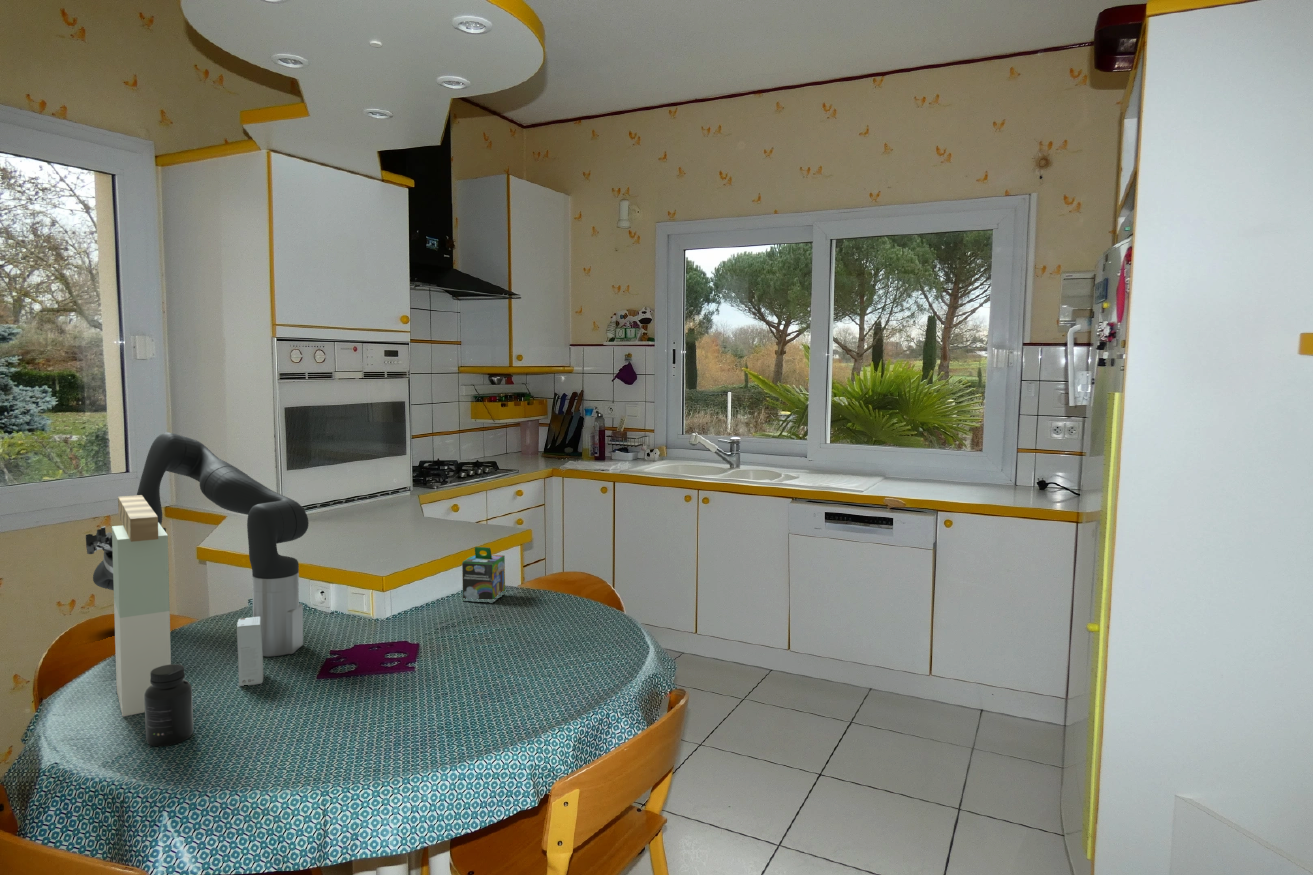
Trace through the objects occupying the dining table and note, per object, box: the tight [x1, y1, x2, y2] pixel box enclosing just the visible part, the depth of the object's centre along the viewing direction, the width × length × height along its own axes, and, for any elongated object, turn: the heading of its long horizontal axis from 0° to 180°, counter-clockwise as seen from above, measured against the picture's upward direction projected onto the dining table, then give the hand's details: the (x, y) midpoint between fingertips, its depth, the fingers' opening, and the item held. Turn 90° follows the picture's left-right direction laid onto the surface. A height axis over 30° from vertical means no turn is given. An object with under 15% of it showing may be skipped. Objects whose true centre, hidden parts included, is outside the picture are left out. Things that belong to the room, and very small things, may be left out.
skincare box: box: [236, 616, 264, 687], centre depth 155 cm, size 6×4×12 cm
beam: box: [117, 494, 158, 542], centre depth 146 cm, size 28×4×4 cm, turn 38°
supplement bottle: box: [144, 663, 194, 747], centre depth 130 cm, size 7×7×12 cm
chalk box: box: [461, 546, 506, 599], centre depth 215 cm, size 9×9×15 cm
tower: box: [111, 522, 172, 717], centre depth 144 cm, size 14×8×32 cm, turn 38°
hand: (128, 528), depth 162 cm, fingers open, 8 cm apart
